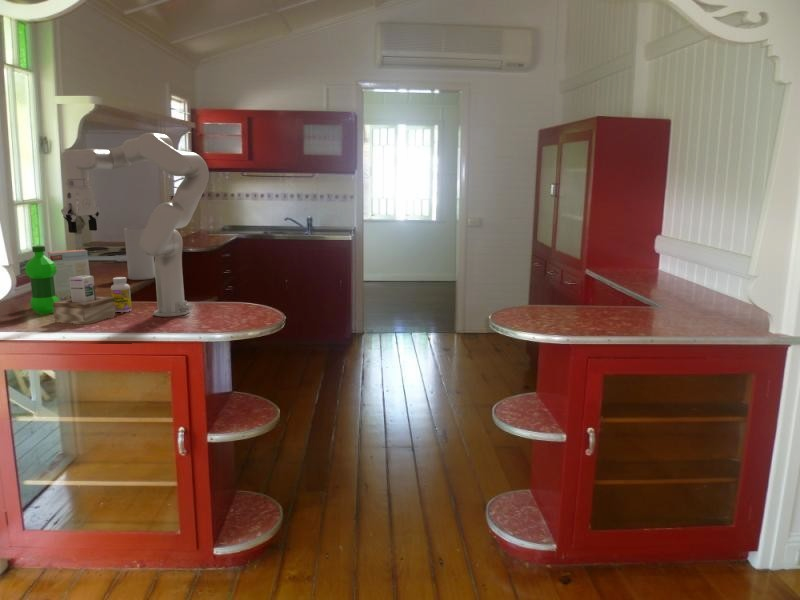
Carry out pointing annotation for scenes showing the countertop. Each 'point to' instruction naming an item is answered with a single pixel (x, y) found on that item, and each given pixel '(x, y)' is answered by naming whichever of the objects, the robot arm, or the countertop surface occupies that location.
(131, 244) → the cylinder vase
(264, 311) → the countertop surface
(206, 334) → the countertop surface
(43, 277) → the plastic bottle
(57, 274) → the cracker box
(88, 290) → the syrup box
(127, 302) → the supplement bottle
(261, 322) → the countertop surface
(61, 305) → the wooden box
